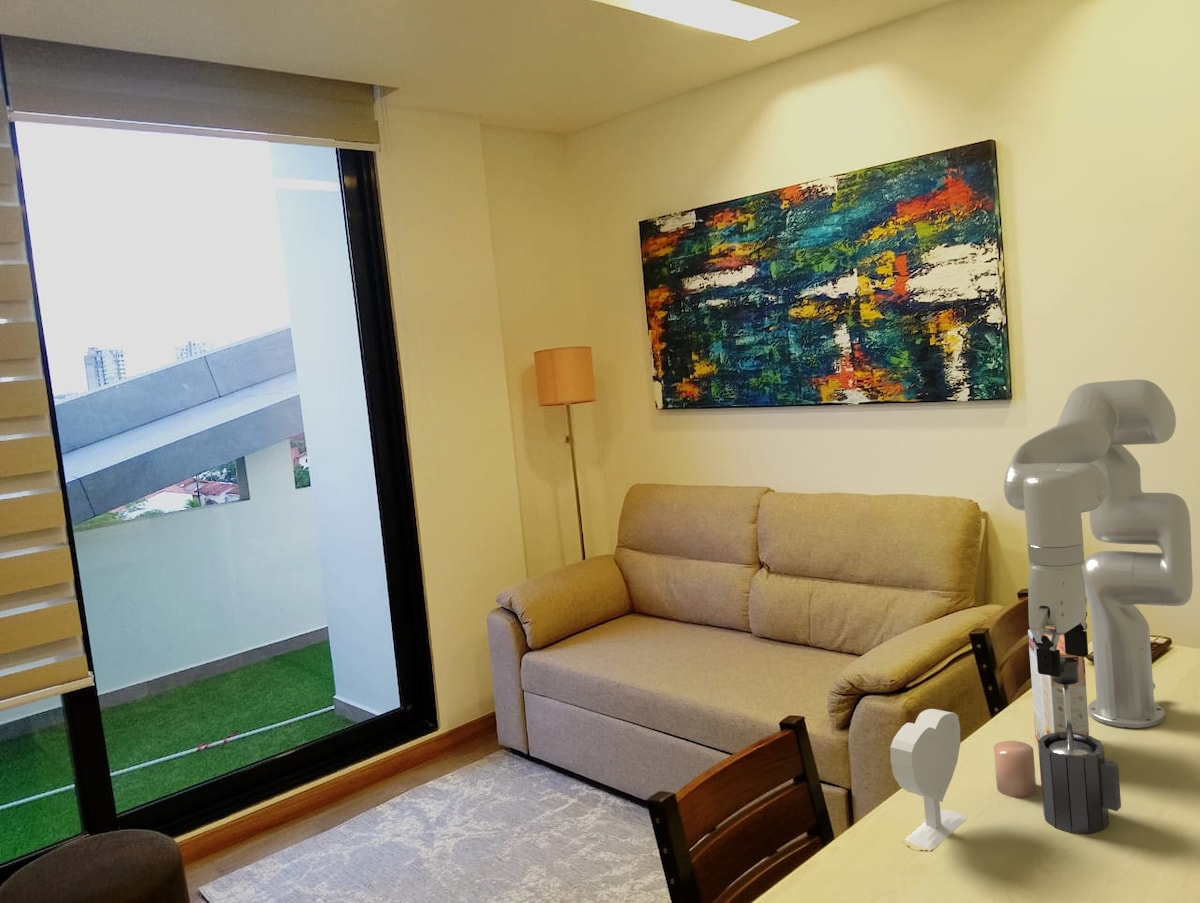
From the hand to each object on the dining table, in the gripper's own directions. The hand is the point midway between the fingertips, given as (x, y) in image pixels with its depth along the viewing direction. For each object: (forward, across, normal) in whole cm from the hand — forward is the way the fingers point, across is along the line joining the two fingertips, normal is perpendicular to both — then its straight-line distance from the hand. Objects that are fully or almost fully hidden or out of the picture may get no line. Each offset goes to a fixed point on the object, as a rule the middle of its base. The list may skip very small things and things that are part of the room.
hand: (1063, 664), depth 140 cm
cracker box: (+25, -21, -10) cm, 34 cm away
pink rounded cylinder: (+25, -5, -11) cm, 28 cm away
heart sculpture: (+25, +14, -16) cm, 33 cm away
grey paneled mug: (+25, -1, 0) cm, 25 cm away
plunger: (+14, -1, 0) cm, 14 cm away
